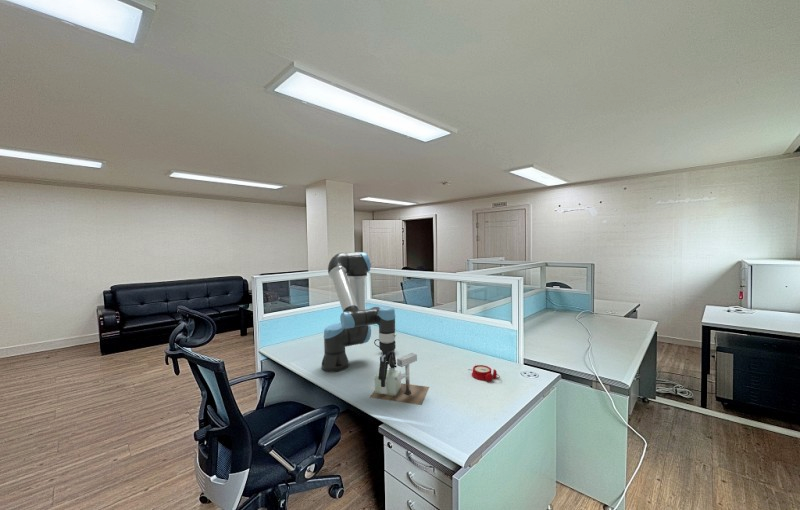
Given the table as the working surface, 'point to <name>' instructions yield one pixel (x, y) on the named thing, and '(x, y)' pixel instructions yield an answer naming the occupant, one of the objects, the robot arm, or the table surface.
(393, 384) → the pale green block
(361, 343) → the robot arm
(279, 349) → the table surface
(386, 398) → the board
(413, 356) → the grey t-shaped stand
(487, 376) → the alarm clock
